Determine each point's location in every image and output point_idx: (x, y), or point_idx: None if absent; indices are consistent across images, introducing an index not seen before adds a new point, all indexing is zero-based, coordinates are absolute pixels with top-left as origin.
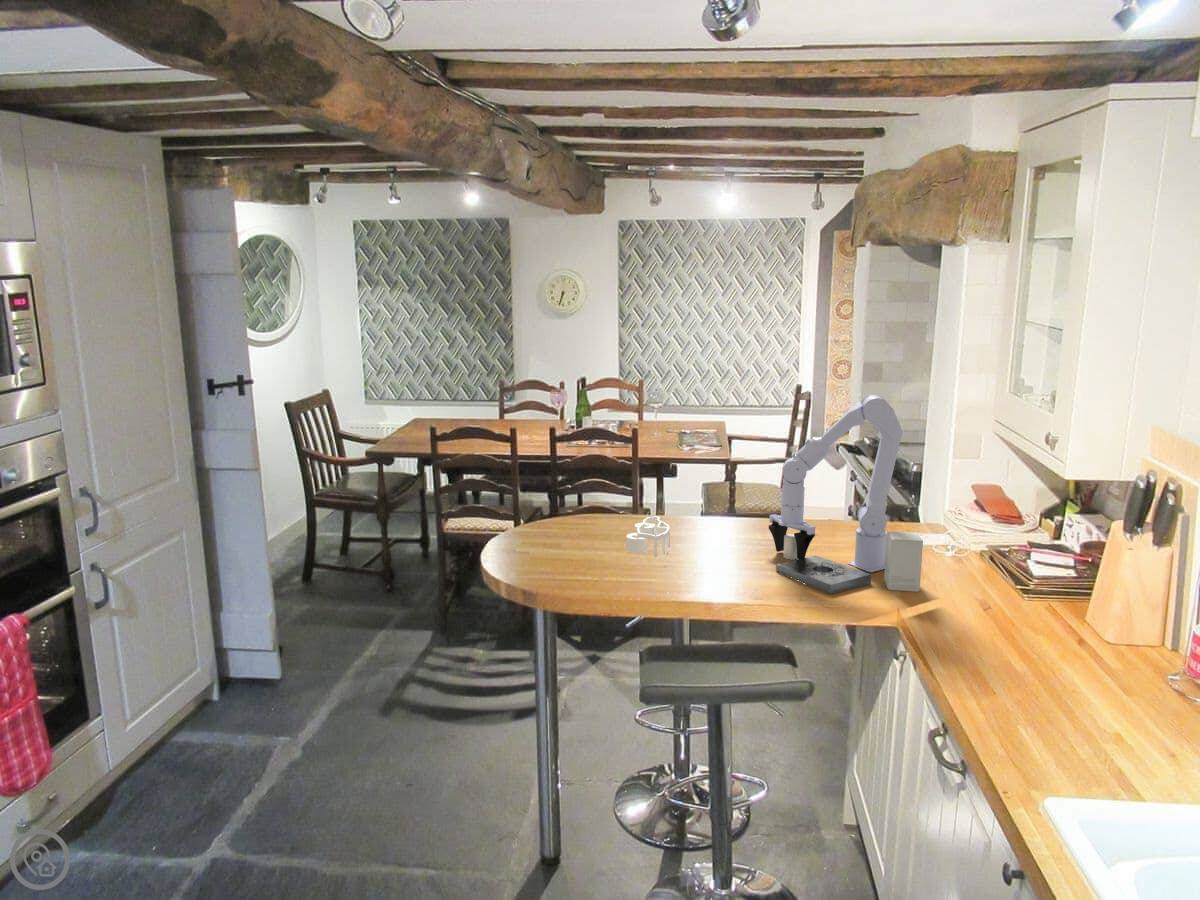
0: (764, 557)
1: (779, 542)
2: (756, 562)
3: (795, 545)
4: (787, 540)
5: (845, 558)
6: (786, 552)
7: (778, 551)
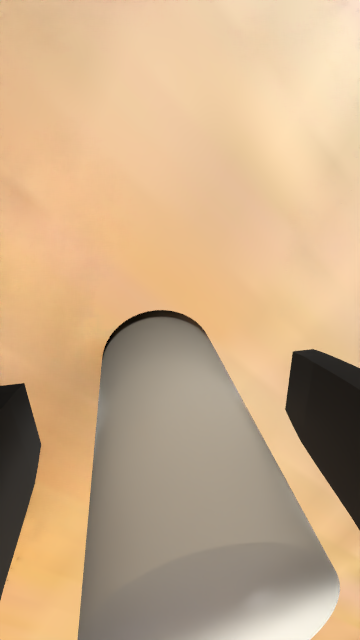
0: (356, 255)
1: (350, 428)
2: (318, 70)
3: (90, 506)
4: (173, 495)
5: (57, 630)
6: (157, 363)
7: (292, 357)
